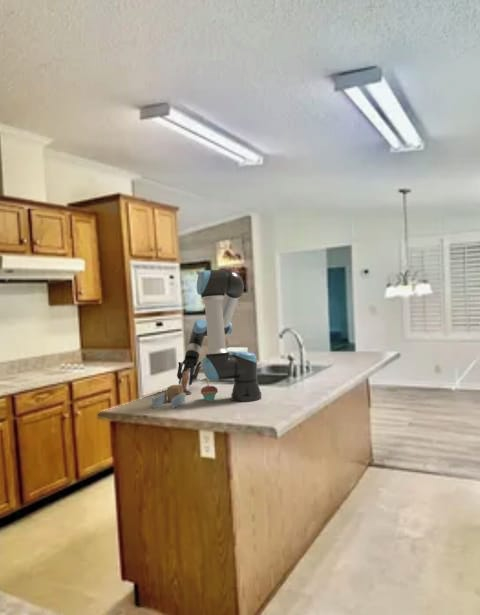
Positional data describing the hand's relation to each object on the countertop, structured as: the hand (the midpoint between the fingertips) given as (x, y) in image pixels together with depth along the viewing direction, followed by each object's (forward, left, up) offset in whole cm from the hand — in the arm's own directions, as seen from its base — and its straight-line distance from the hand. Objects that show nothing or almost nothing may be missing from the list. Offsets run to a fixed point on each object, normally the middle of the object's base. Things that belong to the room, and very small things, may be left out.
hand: (183, 389), depth 257 cm
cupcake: (-19, -1, -3) cm, 20 cm away
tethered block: (-2, +3, -3) cm, 5 cm away
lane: (-10, +17, -3) cm, 21 cm away
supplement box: (+13, -49, -4) cm, 51 cm away
